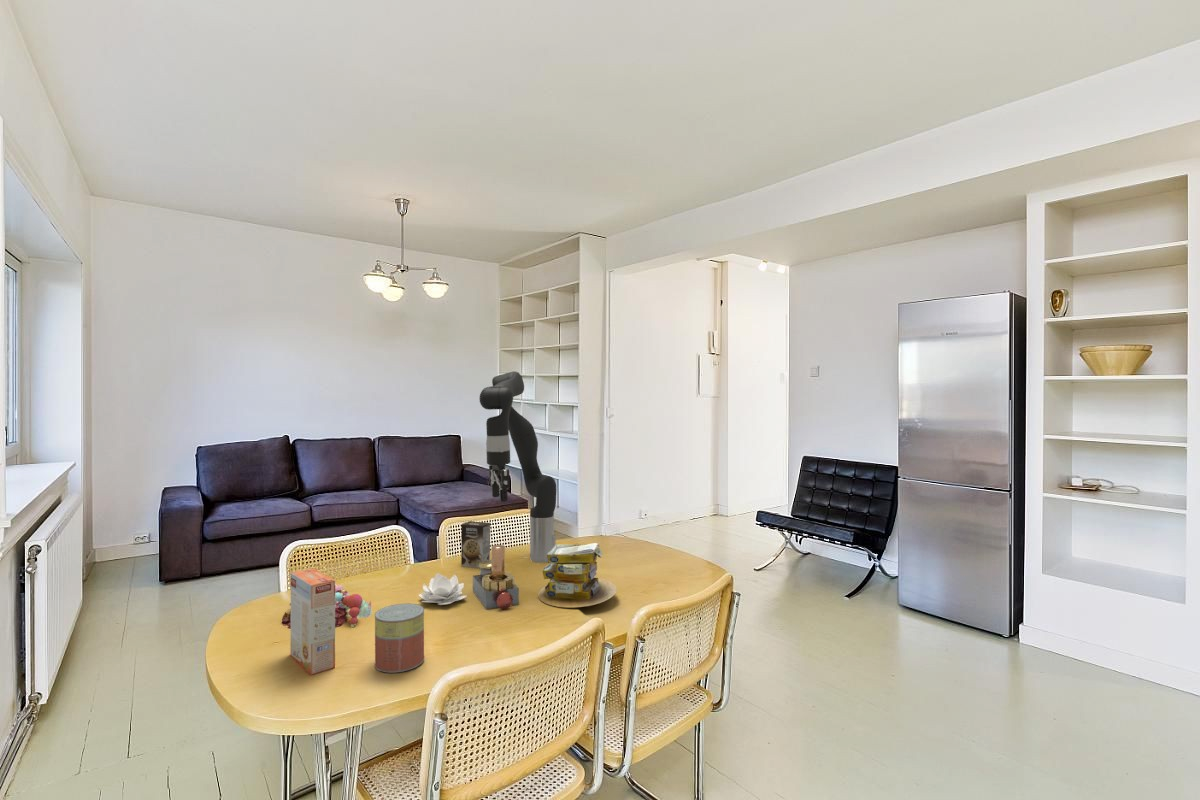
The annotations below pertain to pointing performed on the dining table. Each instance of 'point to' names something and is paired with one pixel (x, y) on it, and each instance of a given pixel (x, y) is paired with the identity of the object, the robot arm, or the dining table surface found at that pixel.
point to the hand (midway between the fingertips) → (499, 499)
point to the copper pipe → (498, 562)
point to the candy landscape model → (342, 608)
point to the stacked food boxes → (574, 577)
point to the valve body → (495, 588)
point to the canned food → (399, 637)
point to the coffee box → (475, 543)
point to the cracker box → (313, 620)
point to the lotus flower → (443, 590)
